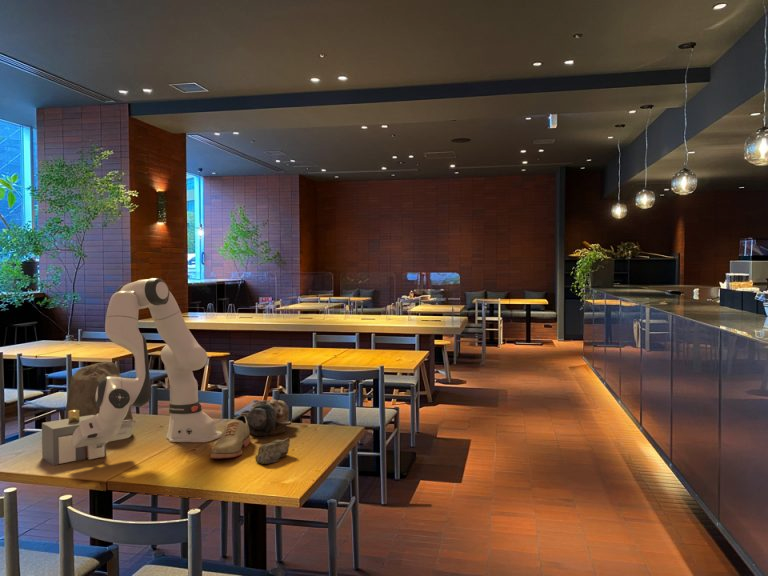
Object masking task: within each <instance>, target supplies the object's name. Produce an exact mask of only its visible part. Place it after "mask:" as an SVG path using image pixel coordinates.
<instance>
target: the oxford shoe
mask: <svg viewBox="0 0 768 576" xmlns="http://www.w3.org/2000/svg"><path fill="white" fill-rule="evenodd" d="M251 442H252V441H251V434H250V433H249V425H248V422H247V419H246V417H245V416H241V415H239V416H237V417H236V418H235V419H232V420H230V421H228V422H227V423H226V425H225V427H224V429H223V431H222V435H221V436H220V437H219V438H218V440H217V442H216V443H215V444H214V446H213V447H212V449H211V452H210V458H211V459H231V458H236V457H239V456H241V455H242V454H243V449H242V448H246V447H248V446H249V444H251Z"/></svg>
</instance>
